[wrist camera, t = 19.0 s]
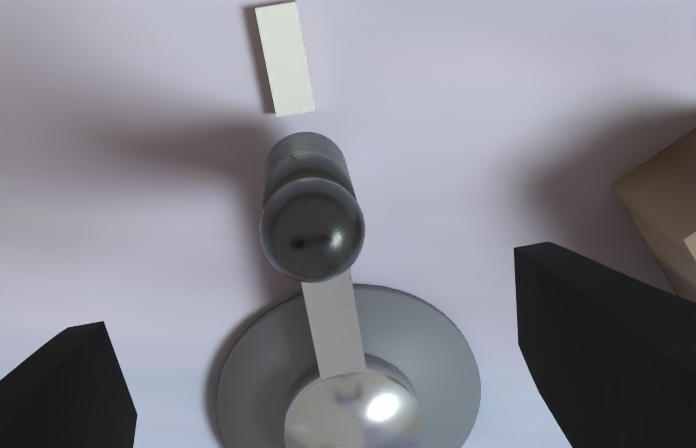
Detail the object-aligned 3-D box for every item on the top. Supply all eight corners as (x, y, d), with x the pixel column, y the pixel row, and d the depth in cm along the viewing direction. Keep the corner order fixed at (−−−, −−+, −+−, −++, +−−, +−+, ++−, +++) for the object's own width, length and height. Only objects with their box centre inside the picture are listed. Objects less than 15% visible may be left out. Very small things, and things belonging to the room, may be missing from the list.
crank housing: (485, 471, 27) (488, 480, 27) (248, 515, 27) (247, 525, 26) (444, -25, 19) (447, -23, 19) (105, 32, 19) (100, 35, 18)
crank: (423, 449, 25) (467, 606, 19) (297, 472, 25) (302, 637, 19) (378, 107, 20) (421, 181, 14) (215, 134, 20) (187, 221, 14)
